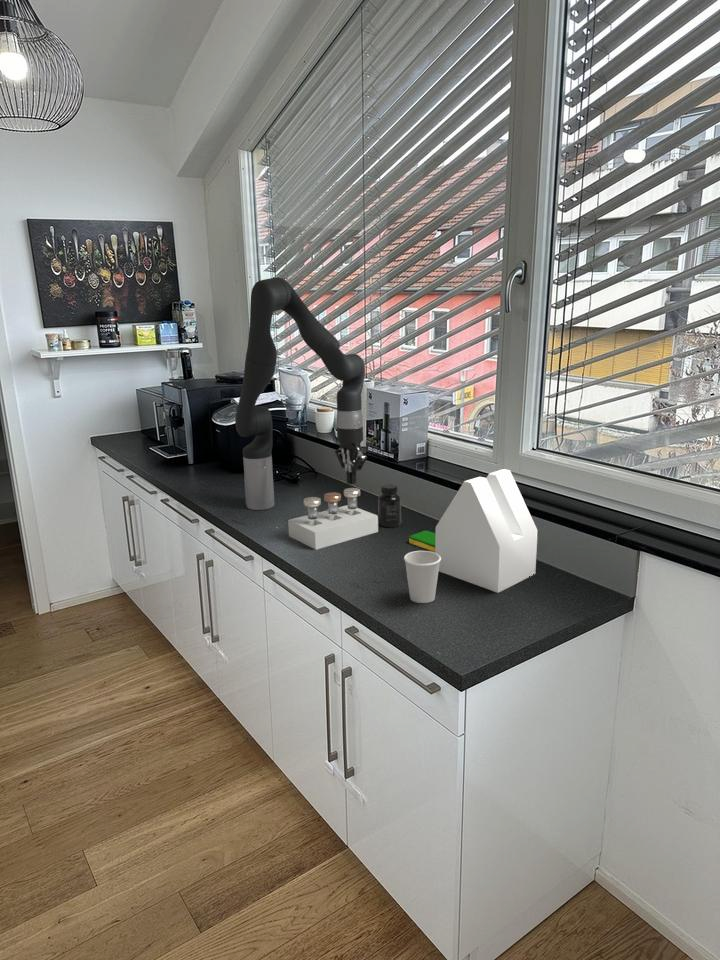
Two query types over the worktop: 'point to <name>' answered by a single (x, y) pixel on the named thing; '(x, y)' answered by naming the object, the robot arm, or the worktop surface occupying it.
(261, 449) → the robot arm
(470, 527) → the white house-shaped block
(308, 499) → the knob
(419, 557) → the dixie cup
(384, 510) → the supplement bottle
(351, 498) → the knob
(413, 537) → the dish sponge
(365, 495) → the worktop surface
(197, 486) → the worktop surface
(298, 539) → the mount
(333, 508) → the knob centre
